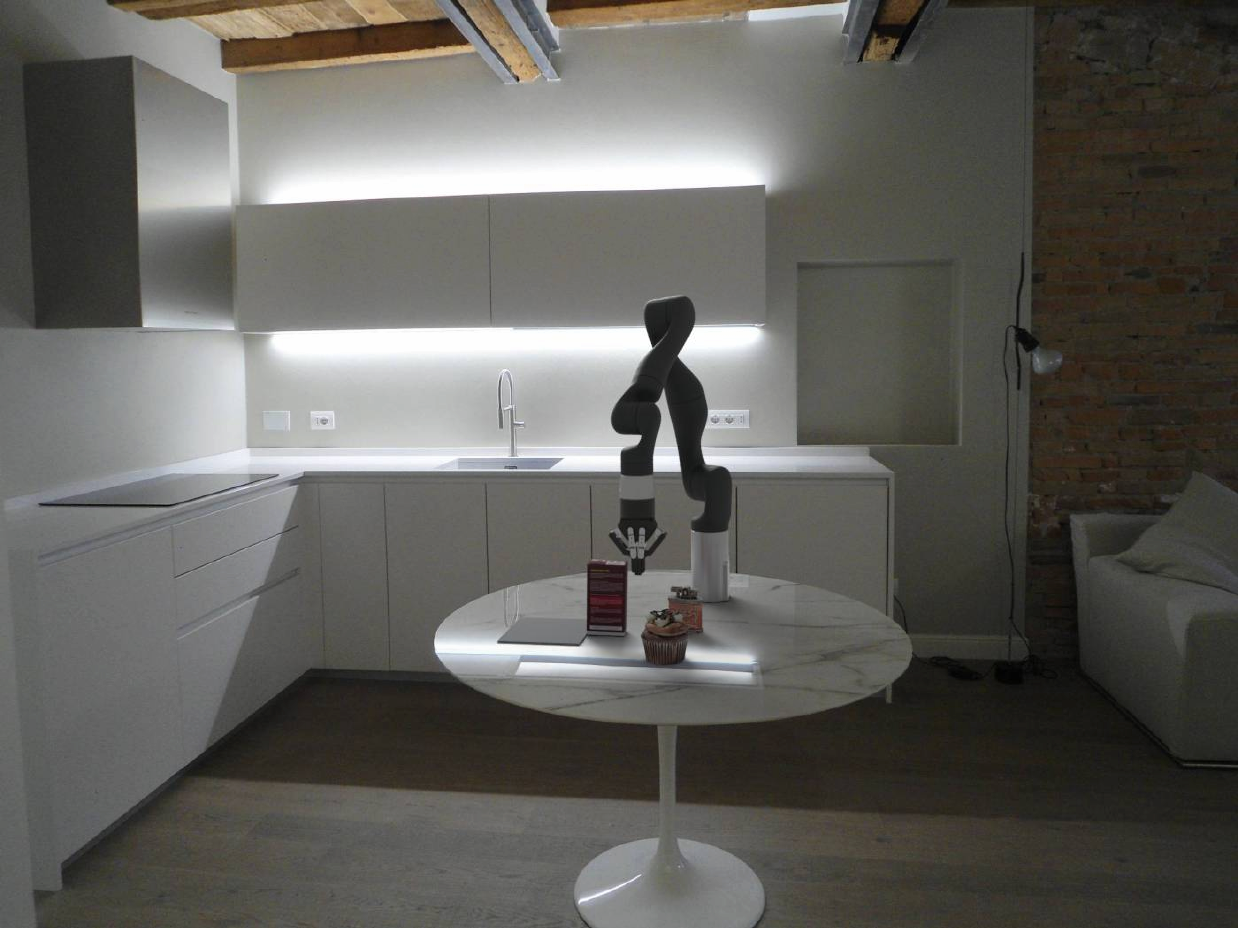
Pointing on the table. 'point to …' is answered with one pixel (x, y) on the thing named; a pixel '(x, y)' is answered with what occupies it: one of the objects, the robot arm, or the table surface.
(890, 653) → the table surface
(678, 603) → the lighter
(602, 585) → the supplement box
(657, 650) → the cupcake
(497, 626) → the table surface
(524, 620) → the mat
